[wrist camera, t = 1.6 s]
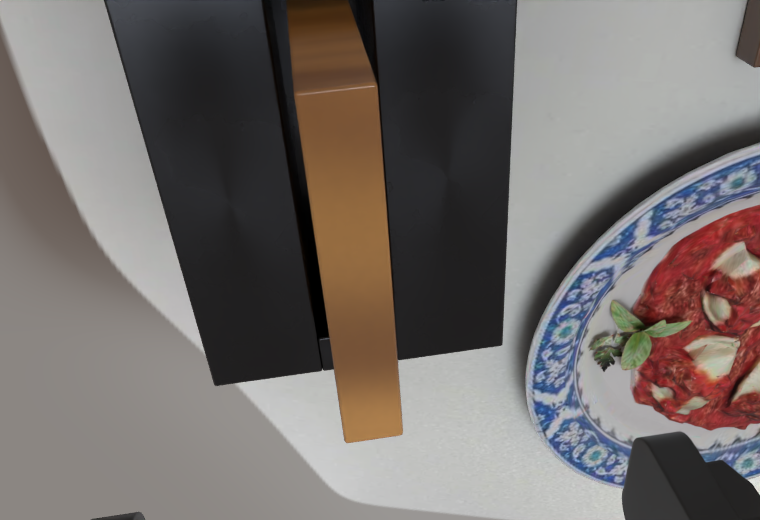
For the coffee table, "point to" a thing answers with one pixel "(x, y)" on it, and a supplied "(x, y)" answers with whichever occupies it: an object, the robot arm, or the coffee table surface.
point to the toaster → (288, 179)
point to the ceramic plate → (659, 330)
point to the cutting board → (750, 35)
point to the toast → (347, 211)
